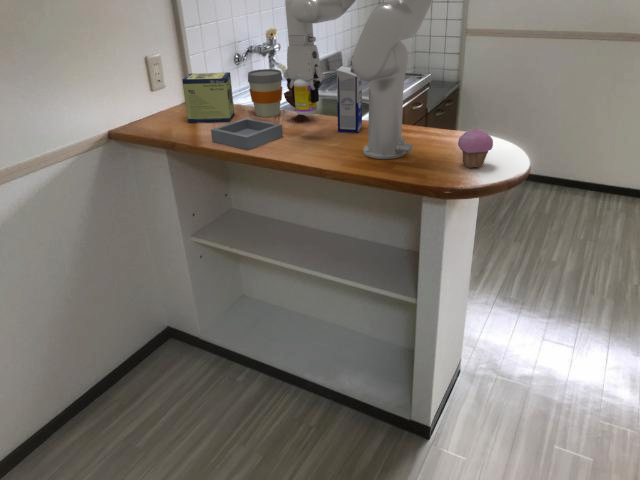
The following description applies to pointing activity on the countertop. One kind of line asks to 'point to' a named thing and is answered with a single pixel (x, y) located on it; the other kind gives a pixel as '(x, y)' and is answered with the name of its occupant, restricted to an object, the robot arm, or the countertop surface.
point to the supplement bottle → (303, 97)
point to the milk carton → (349, 100)
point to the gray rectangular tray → (247, 133)
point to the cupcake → (475, 147)
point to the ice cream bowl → (290, 100)
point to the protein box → (208, 97)
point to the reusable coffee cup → (266, 91)
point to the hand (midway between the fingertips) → (305, 100)
